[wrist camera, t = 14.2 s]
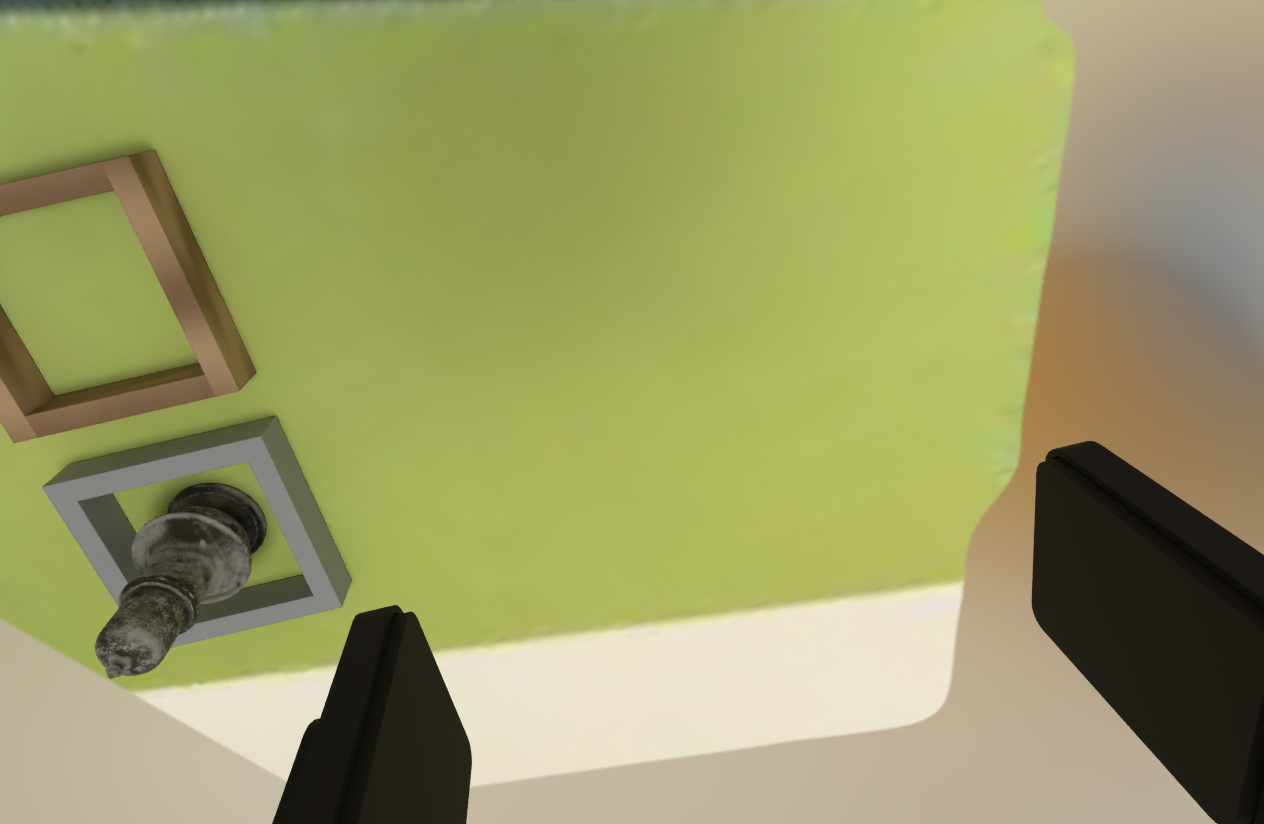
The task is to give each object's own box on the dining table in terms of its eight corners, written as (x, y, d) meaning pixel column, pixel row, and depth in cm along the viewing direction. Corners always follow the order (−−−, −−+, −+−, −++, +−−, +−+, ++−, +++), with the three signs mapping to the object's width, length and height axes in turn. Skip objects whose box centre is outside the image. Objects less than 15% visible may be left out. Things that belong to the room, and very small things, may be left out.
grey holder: (69, 463, 41) (42, 487, 38) (276, 415, 41) (260, 436, 39) (167, 624, 46) (148, 653, 43) (351, 580, 46) (341, 607, 44)
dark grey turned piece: (207, 579, 45) (100, 745, 34) (139, 505, 42) (0, 658, 31) (293, 540, 44) (212, 695, 33) (229, 462, 42) (119, 603, 31)
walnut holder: (-89, 205, 35) (-133, 215, 32) (154, 150, 35) (127, 156, 33) (43, 421, 40) (13, 443, 37) (256, 372, 40) (239, 390, 38)
